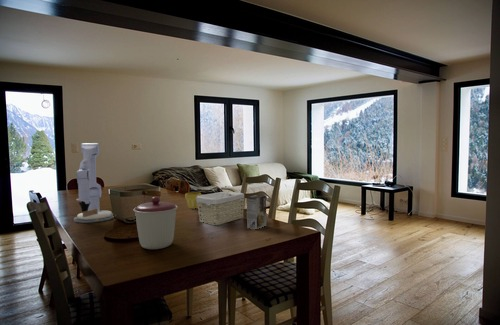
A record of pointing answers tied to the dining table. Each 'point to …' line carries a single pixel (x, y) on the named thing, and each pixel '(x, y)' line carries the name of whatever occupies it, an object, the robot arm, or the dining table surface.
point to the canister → (155, 223)
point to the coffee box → (256, 211)
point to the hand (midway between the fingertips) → (85, 214)
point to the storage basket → (220, 207)
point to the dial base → (93, 220)
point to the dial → (94, 214)
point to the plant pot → (192, 200)
